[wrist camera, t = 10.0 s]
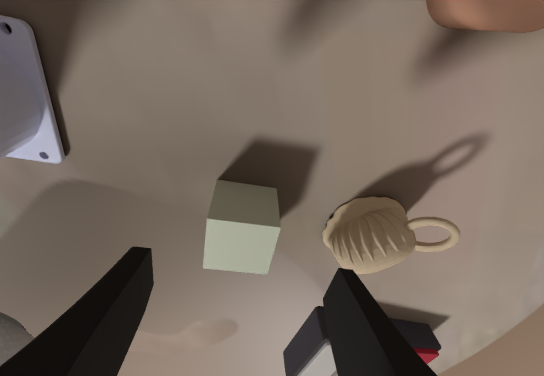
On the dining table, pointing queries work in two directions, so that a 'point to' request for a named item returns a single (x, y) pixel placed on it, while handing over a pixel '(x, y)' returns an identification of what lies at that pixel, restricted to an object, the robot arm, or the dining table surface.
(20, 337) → the cereal bowl
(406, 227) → the cream ribbed piece
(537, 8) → the terracotta cylinder
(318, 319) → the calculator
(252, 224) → the sage block
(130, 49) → the dining table surface
